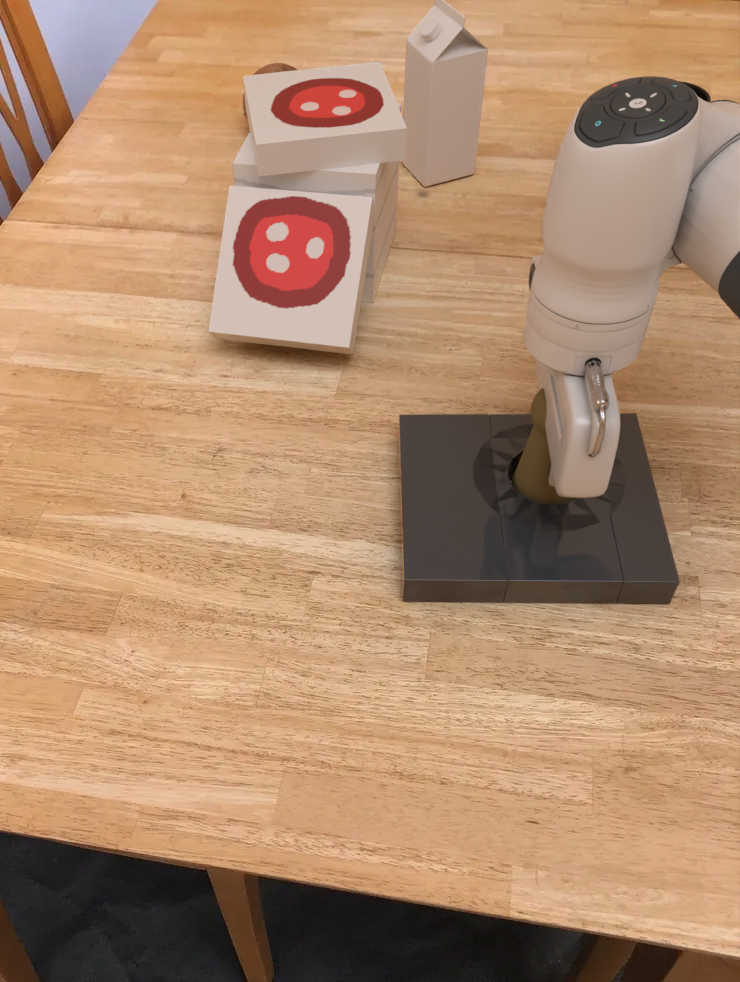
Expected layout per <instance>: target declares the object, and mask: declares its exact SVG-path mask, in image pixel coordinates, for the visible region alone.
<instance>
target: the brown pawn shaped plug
mask: <svg viewBox="0 0 740 982" xmlns="http://www.w3.org/2000/svg"><path fill="white" fill-rule="evenodd" d="M546 413H547V406H546V397H545V392H544V389H543V388H541V389H540V390H539V389H538V391H536V393H535V395H534V397H533V400H532V402H531V406H530V414H531V418H532V422H533V424H534V426H533V428H532V431H531V433H530V436H529V438H528V441H527V443H526V446H525V448H524V451H523V454H522V456H521V459H520V461H519V464H518V466H517V469H516V471H515V474H514V476H513V478H512V479H511V481H510V483H511V484H512V486H513V487H514V489H515V490H516V491H517V492H519V493H520V494H522V495H523V496H525V497H526V498H528V499H529V500H532V501H536V502H539V503H543V504H563V503H567V502H570V501H573V500H576V499H577V498H570V497H561V496H559V495H558V494H557V493H556V489H555V487H553V486H550V484H549V480H548V473H547V470H548V467H549V461H550V453H549V447H548V441H547V435H546V429H545V422H546Z"/></svg>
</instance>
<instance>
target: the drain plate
mask: <svg viewBox="0 0 740 982" xmlns="http://www.w3.org/2000/svg"><path fill="white" fill-rule="evenodd" d="M533 426H534V424H533V422H532V418H531V413H490V414H489V413H467V414H466V413H446V414H445V413H442V414H439V413H438V414H434V413H432V414H429V413H427V414H425V413H423V414H422V413H421V414H419V413H417V414H416V413H415V414H399V416H398V428H397V429H398V432H397V435H398V436H397V446H398V447H397V449H398V450H397V451H398V453H397V454H398V485H399V486H398V488H399V489H398V490H399V516H400V517H399V522H400V523H399V525H400V552H401V553H400V557H401V560H400V561H401V593H402V594H401V595H402V597H401V598H402V602H403V603H405V602H408V603H411V602H412V603H513V604H514V603H516V604H517V603H519V604H520V603H521V604H523V603H525V604H529V603H530V604H621V605H622V604H624V605H625V604H628V605H629V604H630V605H631V604H632V605H633V604H634V605H636V604H637V605H670V604H671V602H672V599H673V598H674V597H675V594H676V592H677V589H678V587H679V585H680V583H681V582H680V577H679V573H678V569H677V566H676V562H675V558H674V554H673V550H672V546H671V542H670V538H669V535H668V534H669V533H668V530H667V527H666V523H665V518H664V515H663V511H662V508H661V502H660V499H659V496H658V491H657V488H656V484H655V480H654V476H653V473H652V468H651V465H650V460H649V455H648V452H647V448H646V445H645V441H644V436H643V432H642V429H641V425H640V421H639V417H638V413H635V412H630V413H628V412H626V413H625V412H624V413H623V412H621V413H620V434H619V441H618V446H617V451H616V455H615V459H614V464H613V468H612V472H611V476H610V480H609V484H608V487H607V490H606V491H605V493H604V494H602V495H600V496H598V497H590V498H577V499H576V500H573V501H570V502H567V503H563V504H543V503H539V502H536V501H532V500H529V499H528V498H526V497H525V496H523V495H522V494H520V493H519V492H517V491H516V490H515V489H514V487H513V486H512V484H511V481H512V479H513V476H514V474H515V471H516V469H517V466H518V464H519V461H520V459H521V456H522V454H523V451H524V448H525V446H526V443H527V441H528V438H529V436H530V433H531V431H532V428H533Z"/></svg>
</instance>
